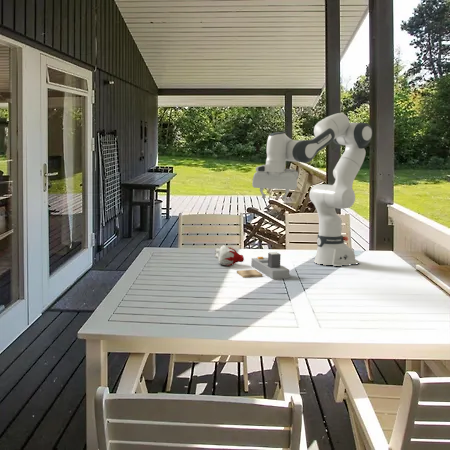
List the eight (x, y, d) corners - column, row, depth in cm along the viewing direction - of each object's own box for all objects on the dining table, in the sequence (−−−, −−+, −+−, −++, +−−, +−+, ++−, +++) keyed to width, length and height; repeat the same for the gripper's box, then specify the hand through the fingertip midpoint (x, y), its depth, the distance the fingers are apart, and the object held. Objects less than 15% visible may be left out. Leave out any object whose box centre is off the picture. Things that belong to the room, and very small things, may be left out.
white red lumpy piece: (213, 260, 269) (243, 265, 268) (210, 265, 258) (241, 270, 257) (216, 243, 268) (246, 247, 267) (213, 247, 257) (244, 252, 256)
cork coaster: (255, 271, 250) (255, 269, 250) (262, 276, 242) (262, 274, 241) (236, 272, 247) (236, 270, 247) (243, 277, 239) (243, 275, 239)
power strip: (262, 262, 270) (262, 253, 269) (289, 278, 240) (289, 268, 239) (247, 263, 267) (247, 254, 266) (272, 279, 237) (272, 269, 236)
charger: (276, 267, 248) (276, 251, 247) (280, 269, 244) (280, 253, 243) (267, 268, 247) (268, 252, 246) (271, 270, 243) (271, 254, 242)
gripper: (299, 169, 246) (297, 199, 248) (254, 167, 251) (253, 196, 252) (297, 169, 240) (296, 200, 242) (252, 167, 244) (251, 198, 246)
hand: (273, 198), depth 247 cm, fingers open, 8 cm apart
